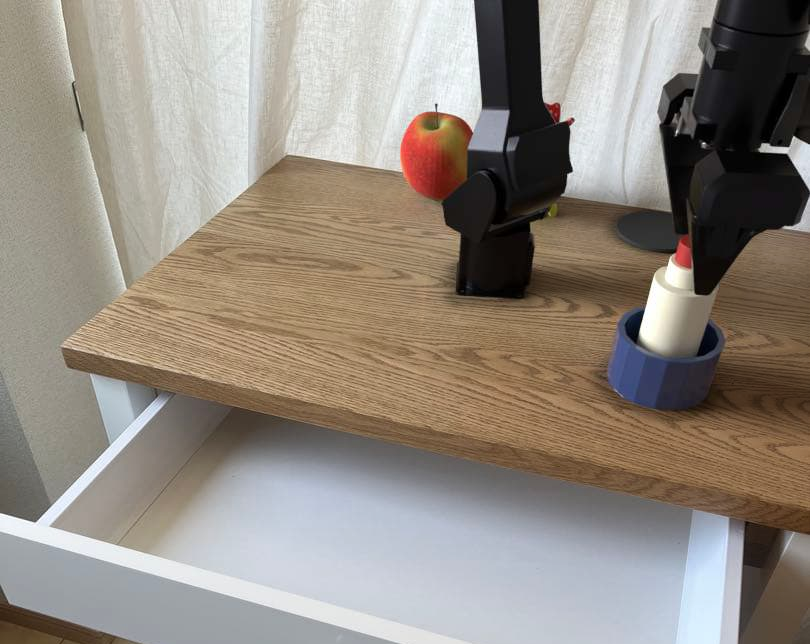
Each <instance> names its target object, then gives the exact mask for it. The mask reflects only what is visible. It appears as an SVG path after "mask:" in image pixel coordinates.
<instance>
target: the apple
mask: <svg viewBox="0 0 810 644" xmlns="http://www.w3.org/2000/svg"><path fill="white" fill-rule="evenodd" d="M438 106H439V104H438V103H434V109H435V111H425V112H422V113H420V114H418V115H416V116H415V117H414V118H413V119H412V120H411V121H410V123H409V124H408V126H407V128H406V130H405V132H404V134H403V137H402V140H401V142H400V150H399V162H400V167H401V171H402V173H403V176H404V179H405V180H406V181H407V182H406V183H408V185H409V186H410V187H411V189H413V191H415V192H416V193H418V194H419V195H421V196H423V197H425V198H427V199H430V200H434V201H443V200H444V199H445V198H446V197H447V196H448V195H450V194H451V193H452V192H453V191H454V190H455V189H457V188H458V187H459V186H460V185H461V184H462V183H463V182H465V181H466V180H467V150H468V145H469V143H470V140H471V137H472V135H473V132H474V131H473V130H472V128H471V127H470V125H469V124H468V122H467V121H465V120H464V119H463V118H462V117H459V116H457V115H454V114H452V113H451V114H450V113H446V112H440V111H438Z"/></svg>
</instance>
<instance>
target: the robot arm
mask: <svg viewBox="0 0 810 644" xmlns="http://www.w3.org/2000/svg"><path fill="white" fill-rule="evenodd" d="M473 6H474V8H473V9H474V20H475V21H474V22H475V32H476V33H475V34H476V46H477V57H478V59H477V60H478V71H479V84H480V96H481V97H480V98H481V111H480V114H479V116H478V119H477V121H476V124H475V127H474V130H473V131H472V132H473V135H472V137H471V140H470V143H469V145H468V150H467V180H466V181H465V182H463V183H462V184H461V185H460V186H459V187H458V188H457V189H455V190H454V191H453V192H452V193H451V194H450V195H448V196H447V197H446V198H445V199H444V200H441V204H442V211H443V217H444V223H445V224H444V225H445V226H446V227H448V228H450V229H451V230H453V231H456V232H457V233H459V234H460V238H459V239H460V241H459V250H458V251H459V252H458V260H457V262H456V275H455V277H456V278H455V291H454V293H455V295H456V296H460V297H475V298H476V297H478V298H491V299H492V298H494V299H511V300H512V299H513V300H523V299H524V298H525V294H526V293H525V288H527V287H529V286H530V283H531V278H532V269H533V263H534V255H535V250H536V246H535V243H536V242H535V235H534V234H533V233H532V232H531V223H534V222H537V221H539V220H540V221H541V220H544V219H547V217H548V216H549V214H548V213H549V211H550V209H551V207H552V205H553V204H555V203H556V204H557V202H558V201H559V199H560V198H561V197H562V195H564V194H565V193H566V188H567V185H568V175H569V174H572V173H574V168H573V165H572V162H571V161H572V160H571V155H570V142H571V126H569V123H568V122H567V121H566V120H562V121H560V122H558V123H556V122H555V120H554V118H553V117H552V115H551V113H550V111H549V110H548V108H547V106H546V105H545V103H546V102H545V101H544V95H543V76H542V75H543V74H542V73H543V72H542V51H541V50H542V49H541V26H540V25H541V24H540V1H539V0H473ZM699 34H700V35H699V38H698V42H697V46H698V48H699V50H700V52H701V54H702V60H701V63H700V67H699V70H698V73H690V72H689V73H687V72H678V73H677V74H676V75H674V76H673V77H672V78H671V79H669V81H667V82H666V83H665V84H664V85H663V86H662V88H661V93H660V96H659V97H660V98H659V102H658V107H657V111H656V114H657V116H658V118H659V121H660V123H659V124H658V131H659V135H660V142H661V150H662V155H663V163H664V168H665V176H666V184H667V190H668V197H669V205H670V211H671V212H670V213H672V220H673V227H674V232H675V234H679V235H687V234H689V241H690V254H691V267H692V278H693V289H694V293H695V294H696V295H703V296H708V295H710V294H711V293H712V292H713V290H714V289H715V287H716V286H717V285H718V283H719V284H720V282H721V281H722V279H723V278H724V276H725V275H726V273H727V272H728V271H729V269H730V268H731V267H732V265H733V264H734V263H735V261H736V260H737V258H739V256H740V254H741V253H742V252H743V250H744V249H745V248H746V246H748V244H749V243H750V242H751V241H752V240H753V238H755V237H756V236H758V235H759V234H762V233H764V232H766V231H778V230H782V229H783V228H785V227H794V226H796V225H798V224H800V222H801V220H802V218H803V215H804V212H805V211H806V210H805V209H806V207H807V205H808V201H809V199H810V188H809V187H808V185H807V183H806V182H805V180H804V179H803V177H802V175H801V173H800V172H799V171H798V169H797V167H796V166H795V164H794V162H793V160H792V159H791V158H790V156H789V154H788V153H787V152H786V153H784V152H769V151H768V152H766V151H765V152H763V151H761V150H760V149H761V148H762V145H763V144H765V145H766V144H767V145H769V146H770V147H774V148H790V147H791V146H792V145H791V144H792V142H793V139H794V138H796V139H798V140H799V141H801V142H803V143H805V144H807V145H809V146H810V50H809V48H808V47H807V46H806V43H807V40H808V37H809V34H810V0H716V5H715V8H714V11H713V16H712V20H711V23H710V27H706V26H705V27H704V26H703V27H701V31H700V33H699ZM544 102H545V103H544Z"/></svg>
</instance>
